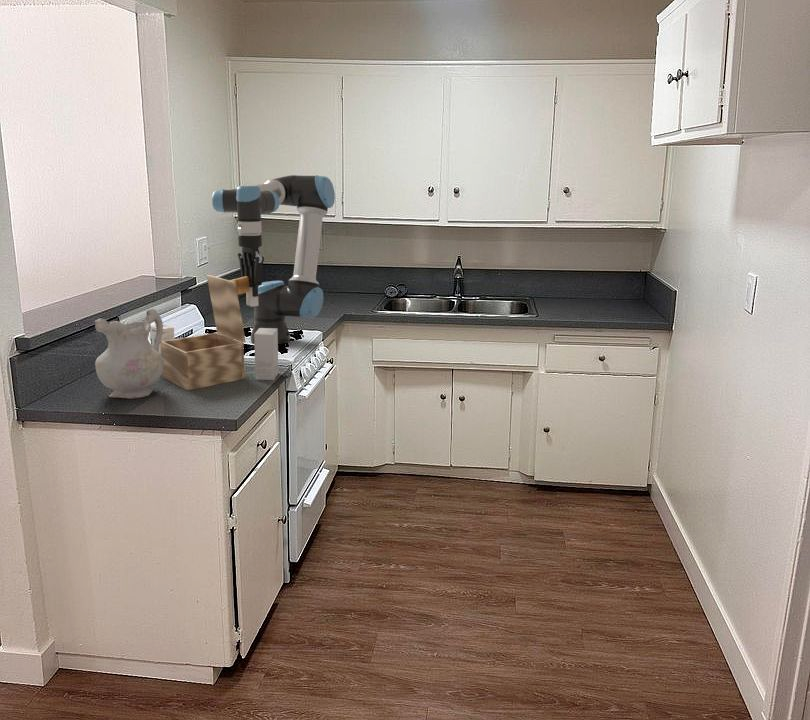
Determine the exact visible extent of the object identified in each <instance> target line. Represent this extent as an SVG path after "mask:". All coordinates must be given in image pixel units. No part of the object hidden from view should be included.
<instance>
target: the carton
mask: <svg viewBox="0 0 810 720" xmlns="http://www.w3.org/2000/svg"><path fill="white" fill-rule="evenodd" d="M160 347H161V355H162V357H163V360H164V370H163V373H162V378H163V379H165V380H167V381H169V382H171V383H173V384H174V385H177V386H178V387H179V388H182V389H184V390H186V391H192V390H196V389H201V388H206V387H211V386H216V385H221V384H226V383H231V382H236V381H240V380H241V381H242V380H246V373H245V371H246V370H245V354H244V353H245V352H244V351H245V350H244V343H242V342H240V341H237V340H235V339H232V338H230V337H227V336H224V335H222V334H219V333H217V332H214V333H207V334H201V335H195V336H194V335H193V336H186V337H182V338H174V340H167V341H161V342H160Z"/></svg>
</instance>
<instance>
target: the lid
mask: <svg viewBox="0 0 810 720" xmlns="http://www.w3.org/2000/svg"><path fill="white" fill-rule="evenodd" d="M206 279H207V280H206V281H207V285H208V291H209V296H210V297H209V298H210V303H211V306H212V312H213V318H214V322H215V323H214V324H215V329H216V333H219V334H221V335H224V336H226V337H229V338H232V339H234V340H237V341H239V342H242V343H243V344H245V343H246V342H247V341H246V335H245V331H244V323H243V317H242V313H241V307H240V302H239V295H243V294H246V293H247V292H250V289H249V279H248V277H247V276H244V277H241V276H240V277H238V278H234V279H225V278H222V277H219V276H215V275H212V274H211V275H210V274H207V275H206Z"/></svg>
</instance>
